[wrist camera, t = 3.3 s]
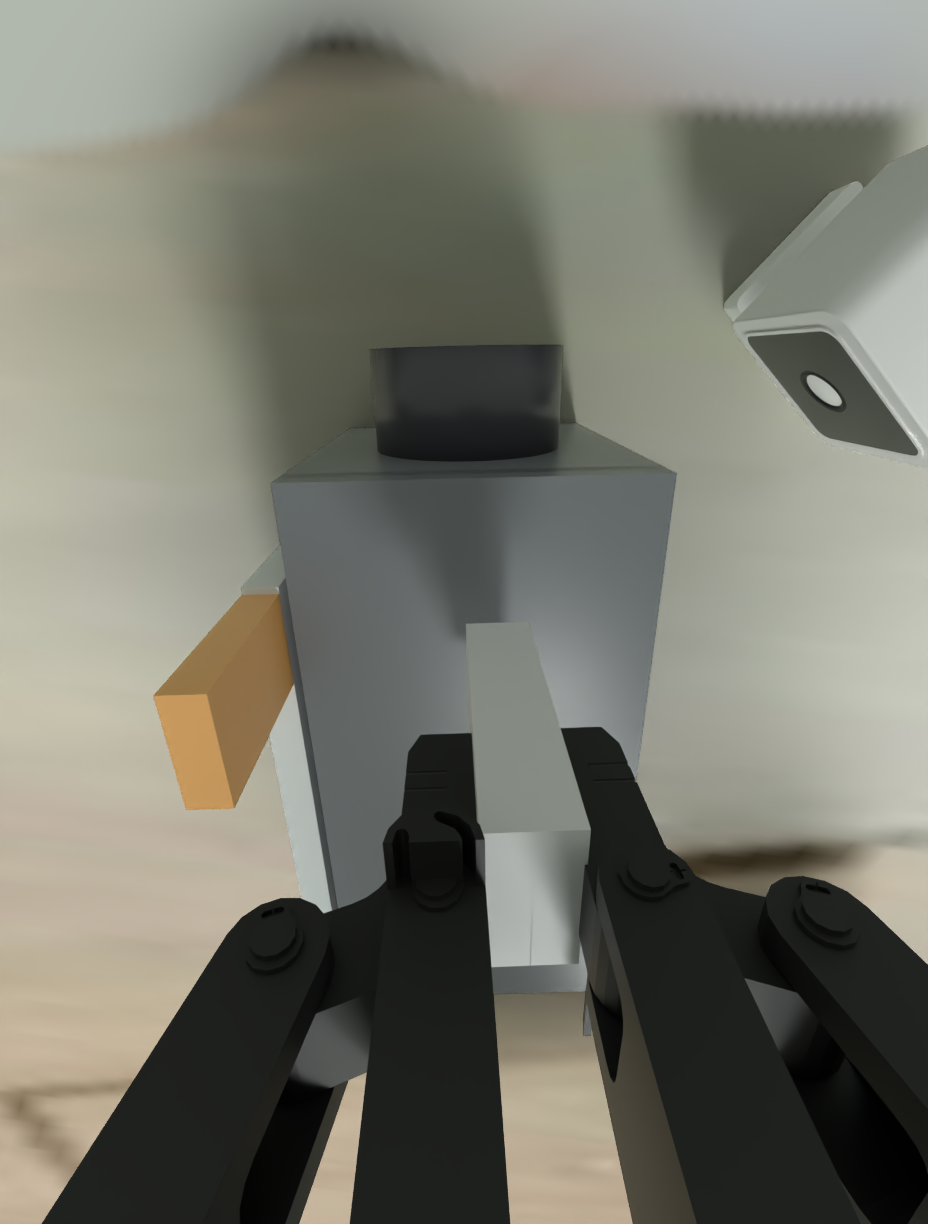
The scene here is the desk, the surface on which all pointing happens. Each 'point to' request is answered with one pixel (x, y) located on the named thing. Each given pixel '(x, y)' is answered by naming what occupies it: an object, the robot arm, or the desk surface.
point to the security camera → (850, 315)
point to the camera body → (463, 579)
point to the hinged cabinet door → (250, 721)
